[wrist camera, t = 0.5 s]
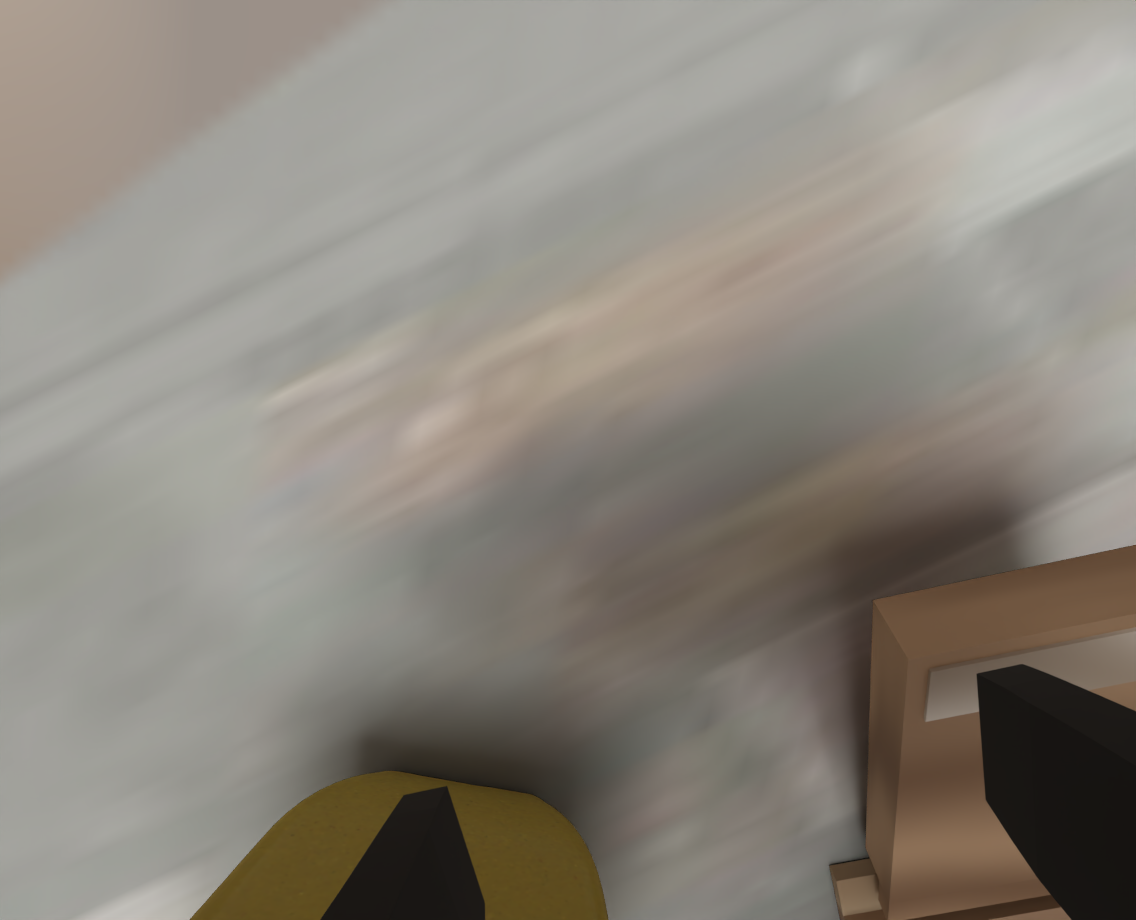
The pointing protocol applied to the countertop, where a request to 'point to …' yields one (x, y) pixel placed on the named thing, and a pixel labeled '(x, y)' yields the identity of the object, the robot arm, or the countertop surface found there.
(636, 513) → the countertop surface
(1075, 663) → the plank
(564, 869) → the flower pot
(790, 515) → the countertop surface
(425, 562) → the countertop surface
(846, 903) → the laid floor
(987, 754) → the robot arm
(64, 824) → the countertop surface
